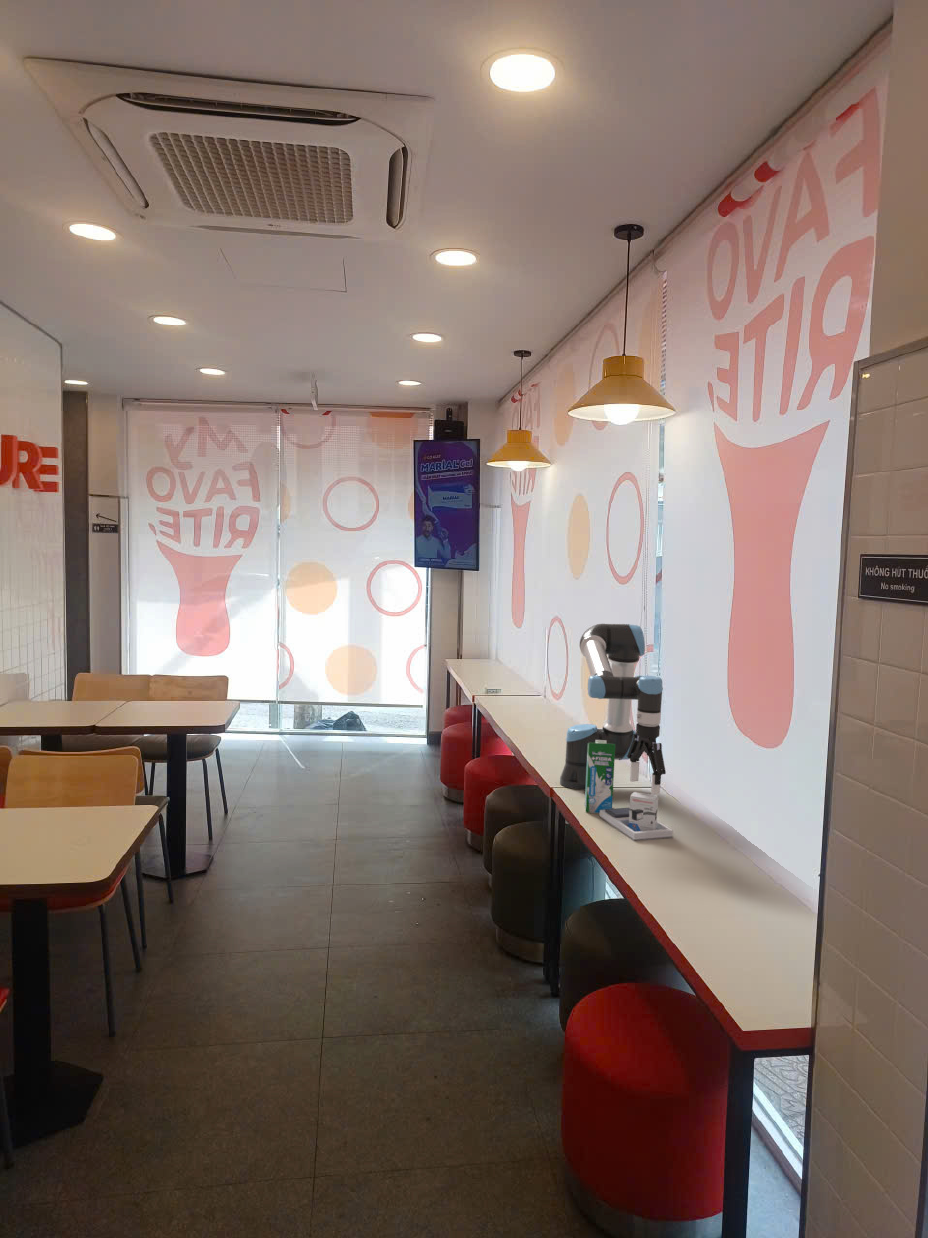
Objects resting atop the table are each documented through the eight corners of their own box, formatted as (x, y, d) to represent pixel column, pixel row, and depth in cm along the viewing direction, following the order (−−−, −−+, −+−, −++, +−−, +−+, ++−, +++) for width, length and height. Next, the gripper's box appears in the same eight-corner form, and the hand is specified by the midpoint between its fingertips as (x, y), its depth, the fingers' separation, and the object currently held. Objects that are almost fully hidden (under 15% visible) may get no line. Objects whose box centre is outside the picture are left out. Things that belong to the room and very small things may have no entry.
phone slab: (605, 811, 284) (605, 809, 284) (636, 809, 288) (636, 806, 288) (614, 818, 277) (614, 815, 277) (646, 815, 281) (646, 813, 281)
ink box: (627, 830, 271) (629, 795, 270) (631, 826, 276) (632, 791, 275) (653, 834, 268) (655, 799, 267) (656, 830, 273) (658, 795, 272)
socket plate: (599, 817, 286) (599, 810, 286) (635, 814, 290) (635, 807, 290) (634, 841, 263) (634, 833, 263) (672, 837, 267) (673, 830, 267)
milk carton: (609, 806, 298) (613, 738, 296) (611, 814, 290) (615, 743, 287) (584, 804, 299) (587, 736, 297) (585, 812, 290) (589, 742, 288)
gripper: (619, 715, 279) (616, 776, 282) (658, 733, 256) (654, 800, 258) (639, 715, 282) (635, 775, 284) (679, 732, 258) (675, 798, 260)
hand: (644, 787), depth 271 cm, fingers open, 13 cm apart
